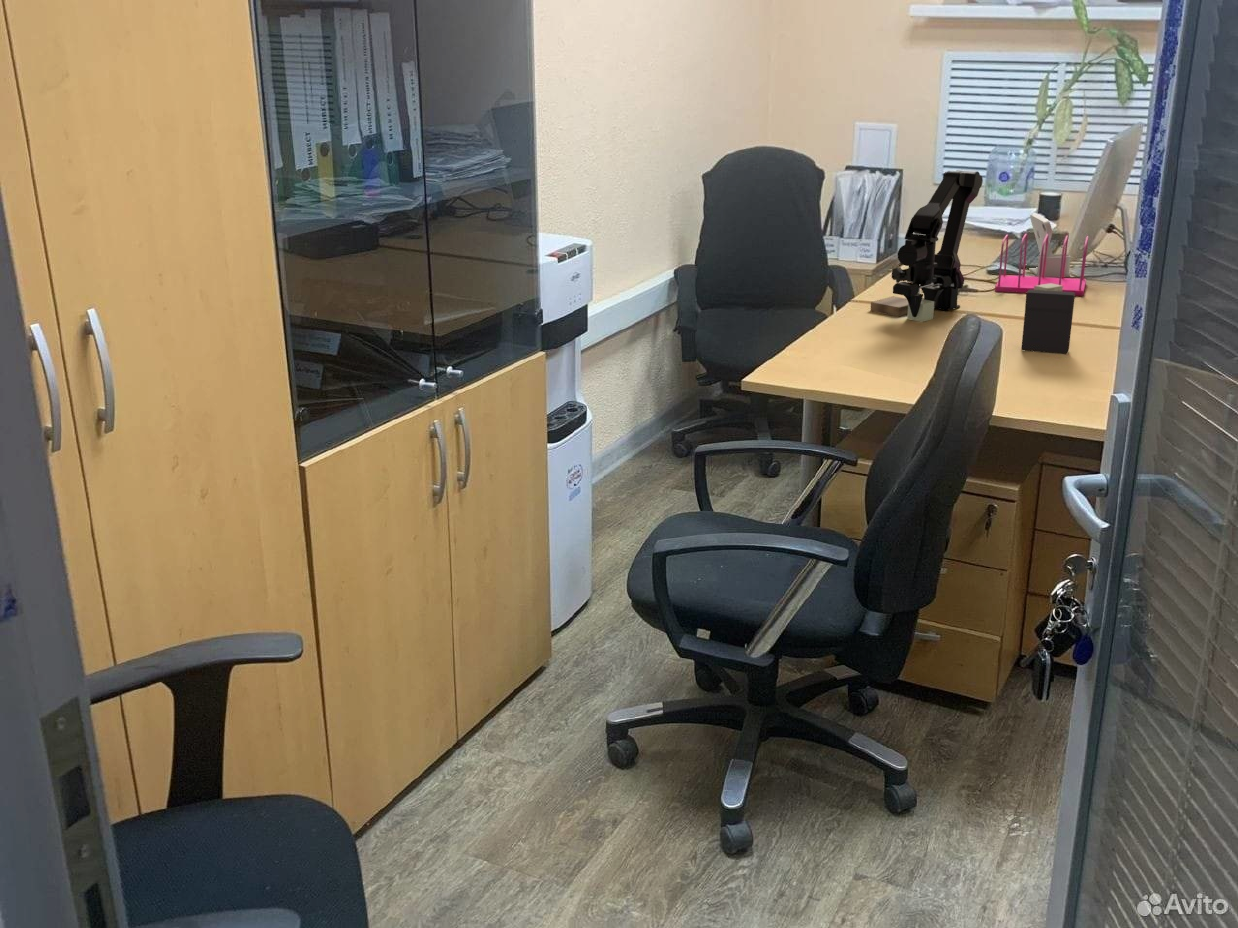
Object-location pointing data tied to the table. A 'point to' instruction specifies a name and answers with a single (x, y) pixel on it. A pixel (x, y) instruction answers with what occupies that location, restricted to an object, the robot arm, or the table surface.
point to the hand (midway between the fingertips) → (920, 315)
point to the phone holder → (1052, 260)
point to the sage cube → (923, 311)
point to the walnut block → (891, 306)
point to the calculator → (1048, 321)
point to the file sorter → (1028, 282)
